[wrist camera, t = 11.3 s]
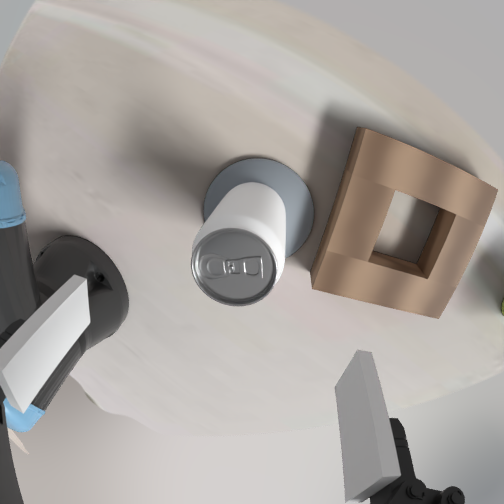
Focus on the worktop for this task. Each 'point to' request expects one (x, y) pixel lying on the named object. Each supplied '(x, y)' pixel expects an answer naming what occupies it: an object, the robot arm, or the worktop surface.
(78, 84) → the worktop surface
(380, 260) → the pocket block
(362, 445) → the robot arm
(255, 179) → the slate mat
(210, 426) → the worktop surface
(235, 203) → the can
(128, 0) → the worktop surface
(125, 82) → the worktop surface
